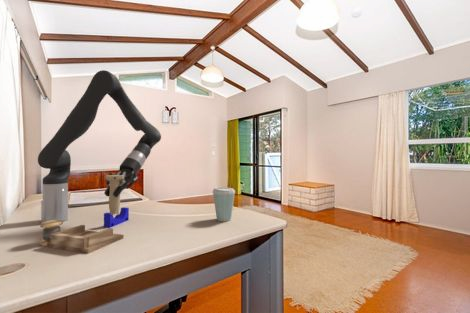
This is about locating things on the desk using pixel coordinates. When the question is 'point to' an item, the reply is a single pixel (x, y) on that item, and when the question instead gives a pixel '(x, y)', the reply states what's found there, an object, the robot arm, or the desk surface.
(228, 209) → the disposable coffee cup
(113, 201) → the handle
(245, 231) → the desk surface
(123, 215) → the cable clip
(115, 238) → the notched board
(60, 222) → the bobbin
